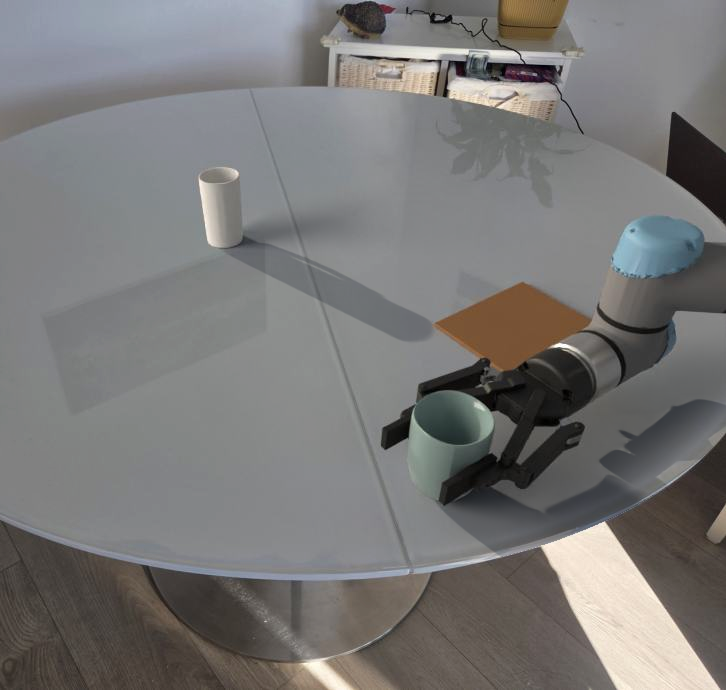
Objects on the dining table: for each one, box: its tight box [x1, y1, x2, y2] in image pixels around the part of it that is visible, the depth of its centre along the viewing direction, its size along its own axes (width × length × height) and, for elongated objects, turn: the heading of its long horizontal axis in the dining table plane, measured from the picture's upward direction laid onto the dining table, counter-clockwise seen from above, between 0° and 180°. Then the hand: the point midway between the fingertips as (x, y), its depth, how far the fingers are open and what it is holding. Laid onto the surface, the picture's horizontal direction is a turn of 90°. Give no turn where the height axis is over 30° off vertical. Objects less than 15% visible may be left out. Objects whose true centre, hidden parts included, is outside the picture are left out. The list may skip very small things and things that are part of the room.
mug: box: [198, 166, 244, 249], centre depth 110 cm, size 10×7×12 cm, turn 2°
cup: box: [406, 390, 496, 502], centre depth 65 cm, size 8×8×10 cm
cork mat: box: [433, 281, 592, 372], centre depth 87 cm, size 18×18×1 cm
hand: (412, 465), depth 63 cm, fingers closed on cup, 8 cm apart
